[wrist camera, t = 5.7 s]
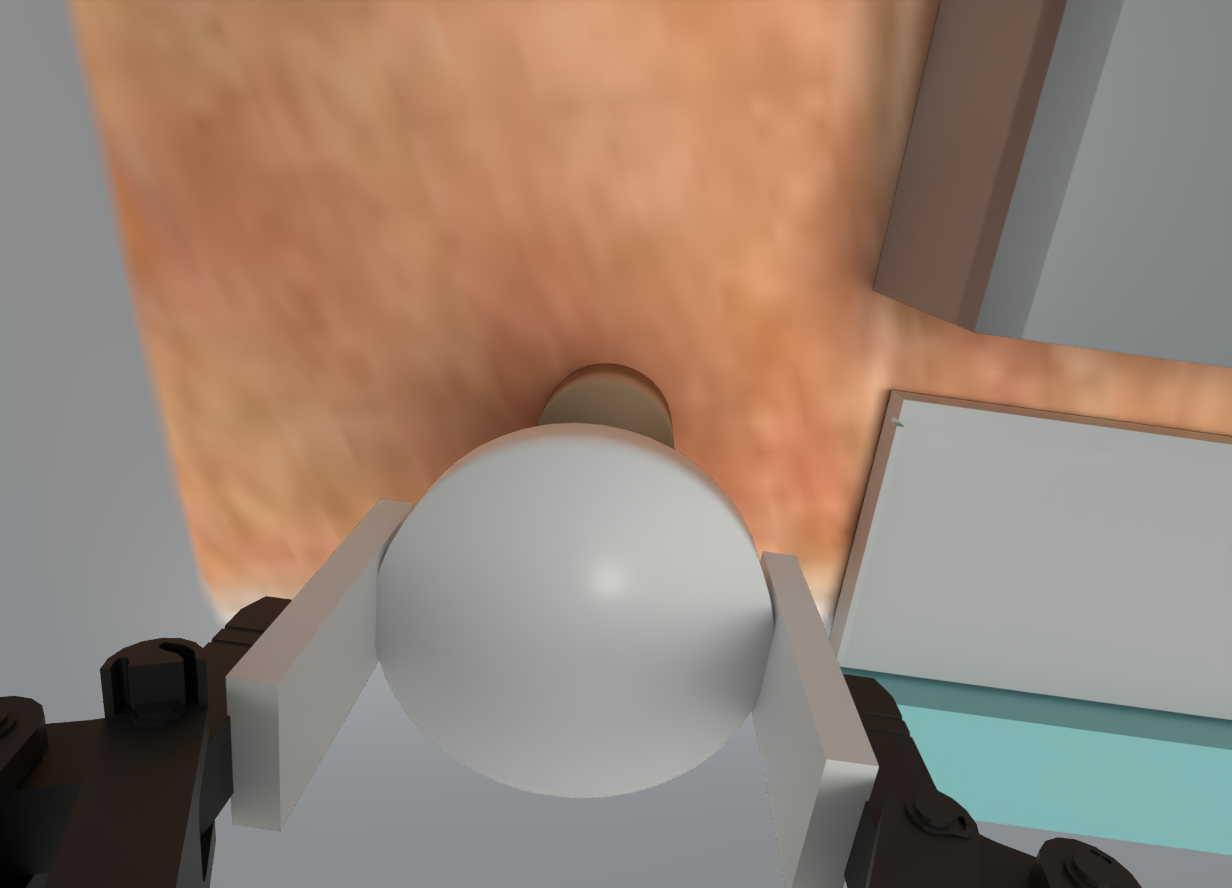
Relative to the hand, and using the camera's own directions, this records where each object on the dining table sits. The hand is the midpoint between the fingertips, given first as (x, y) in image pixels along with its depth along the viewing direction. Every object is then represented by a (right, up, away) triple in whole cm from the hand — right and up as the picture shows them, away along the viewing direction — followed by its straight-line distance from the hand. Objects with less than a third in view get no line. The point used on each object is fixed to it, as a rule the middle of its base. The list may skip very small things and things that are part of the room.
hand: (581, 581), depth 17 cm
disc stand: (0, +4, +12) cm, 13 cm away
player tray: (+21, -4, +14) cm, 25 cm away
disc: (0, 0, -1) cm, 1 cm away
